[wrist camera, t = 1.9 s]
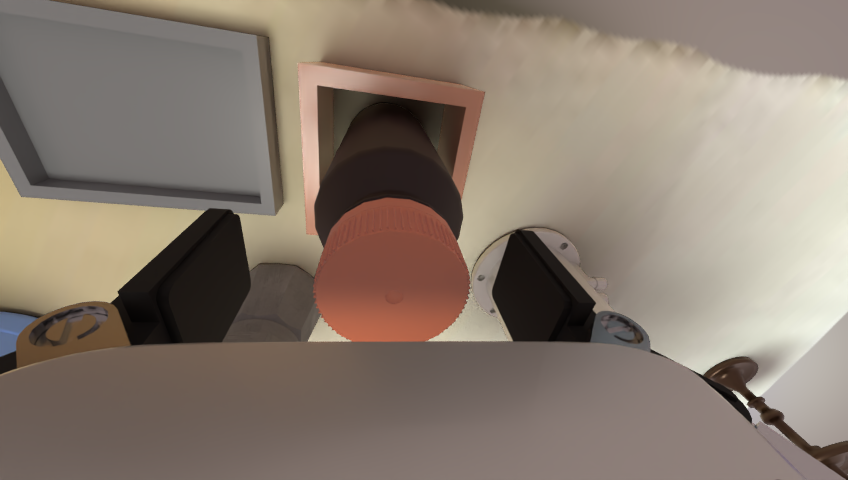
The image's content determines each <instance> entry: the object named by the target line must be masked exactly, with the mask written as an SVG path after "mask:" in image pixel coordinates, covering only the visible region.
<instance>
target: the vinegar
mask: <svg viewBox="0 0 848 480" xmlns="http://www.w3.org/2000/svg"><path fill="white" fill-rule="evenodd" d="M314 215H315V228H316V231H317V233H318V236H319V238H320V240H321V243H322V245H323V247H324V250H323V252H322V255H321V258H320V262H319V265H318V268H317V271H316V274H315V278H314V285H313V287H314V290H313V293H314V297H313V298H316V299H315V302H314V303H317V306H316V308H319V312H318V313H321V314H322V316H321V318H324V320H325V321H324V322H327V323H328V326H331V327H332V330H335V331H336V332H337V334H339V335H341V337H345V338H346V339H349V340H351V341H352V342H424V341H426V340H427V341H428V340H429V339H431V338H433V337H435V336H437V335H439V334H440V333H441V332H443V331H444V330H445V329H448V328H447V327H449V326H450V325H452V323H453V322H455V320H456V318H457V317H459V314H460V313H462V309H464V308H465V307H464V305H465V304H467V302H466V299H469V298H468V295H467V294H470V293H469V289H470V286H469V284H470V280H469V279H470V277H469V272H468V269H467V266H466V263H465V261H464V258H463V256H462V253H461V251H460V248H459V245H458V243H457V240H458V238H459V234H460V229H461V225H462V220H463V211H462V203H461V196H460V193H459V191H458V189H457V187H456V185H455V183H454V181H453V179H452V177H451V175H450V174H449V172H448V170H447V168H446V167H445V165H444V163H443V162H442V160H441V158H440V156H439V155H438V153H437V151H436V150H435V148H434V146H433V144H432V143H431V141H430V139H429V138H428V136H427V134H426V132H425V131H424V129H423V127H422V126H421V124H420V122H419V120H418V119H417V118H416V117H415V116H414V115H413V114H412V113H411V112H410V111H409V110H407V109H405V108H403V107H401V106H399V105H397V104H389V103H380V104H375V105H371V106H369V107H367V108H366V109H364V110H363V111H361V112H359V114H358V115H357V116H356V117H355V119H354V120H353V121H352V123H351V124H350V126H349V128H348V130H347V132H346V134H345V136H344V138H343V140H342V142H341V144H340V146H339V148H338V150H337V152H336V154H335V156H334V158H333V160H332V162H331V164H330V166H329V168H328V170H327V172H326V174H325V176H324V178H323V180H322V182H321V185H320V188H319V191H318V194H317V197H316V200H315V203H314Z"/></svg>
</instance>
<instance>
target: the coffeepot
mask: <svg viewBox="0 0 848 480" xmlns="http://www.w3.org/2000/svg"><path fill="white" fill-rule="evenodd" d="M249 273H250V278H251V288H250V291H249V293H248V295H247V297H246V299H245V301H244V302H243V304H242V306H241V308H240V310H239V312H238V314H237V315H236V317H235V319H234V321H233V323H232V325H231V326H230V328H229V330H228V332H227V334H226V336H225V338H224V339H223V341H222V342H307V341H308V339H309V337H310V335H311V333H312V331H313V329H314V327H315V325H316V323H317V321H318V319H319V317H320V315H321V313H318V312H319V308H316V306H317V303H314V302H315V299H316V298H313V297H314V293H313V290H314V287H313V285H314V278H313V277H312V276H311V275H310V274H308V273H307V272H305V271H304V270H301V269H299V268H298V267H297V266H292V265H286V264H267V265H263V264H259V265H258V266H257V267H255V268H254V269H253V270H251V271H249Z"/></svg>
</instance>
